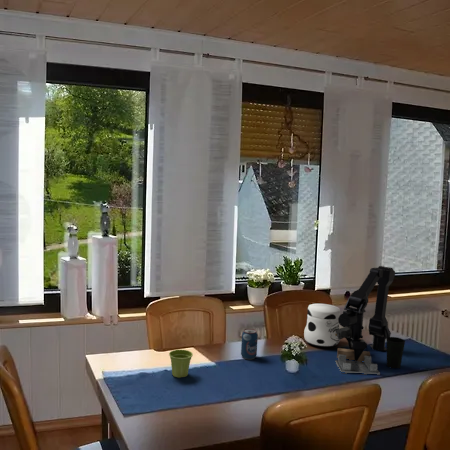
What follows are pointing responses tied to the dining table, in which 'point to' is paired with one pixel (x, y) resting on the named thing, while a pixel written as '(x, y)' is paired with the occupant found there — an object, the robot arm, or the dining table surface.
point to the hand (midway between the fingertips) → (353, 356)
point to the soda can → (249, 344)
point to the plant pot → (180, 362)
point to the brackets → (357, 365)
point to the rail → (351, 354)
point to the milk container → (322, 325)
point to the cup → (394, 351)
